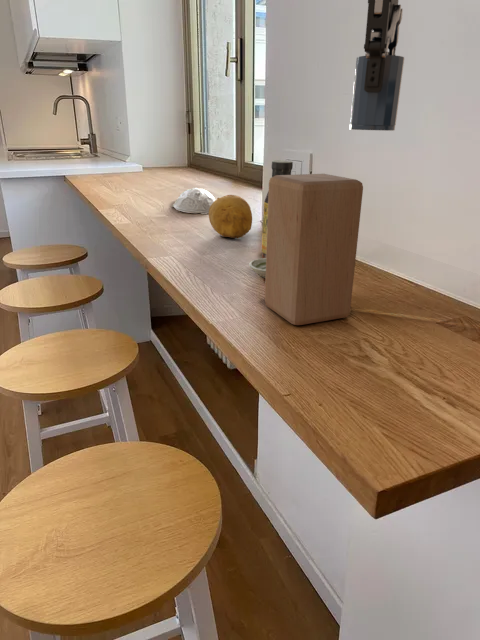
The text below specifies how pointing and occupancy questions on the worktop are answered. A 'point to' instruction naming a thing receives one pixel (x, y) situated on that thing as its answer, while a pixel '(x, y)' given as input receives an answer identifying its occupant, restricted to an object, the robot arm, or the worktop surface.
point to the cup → (377, 97)
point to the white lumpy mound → (194, 201)
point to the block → (311, 246)
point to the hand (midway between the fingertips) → (375, 93)
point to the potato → (230, 216)
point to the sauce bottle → (277, 169)
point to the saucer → (259, 266)
